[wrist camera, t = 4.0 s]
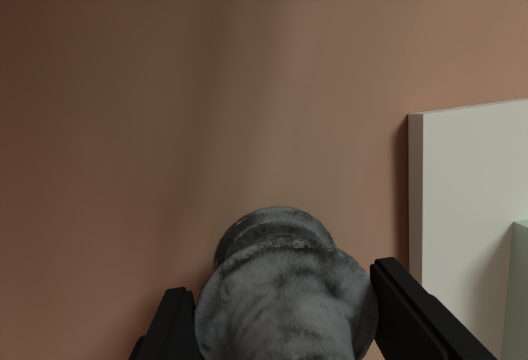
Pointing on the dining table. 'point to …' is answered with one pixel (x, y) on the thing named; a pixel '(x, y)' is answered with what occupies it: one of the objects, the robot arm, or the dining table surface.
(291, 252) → the chess piece
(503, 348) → the holder
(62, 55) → the dining table surface
